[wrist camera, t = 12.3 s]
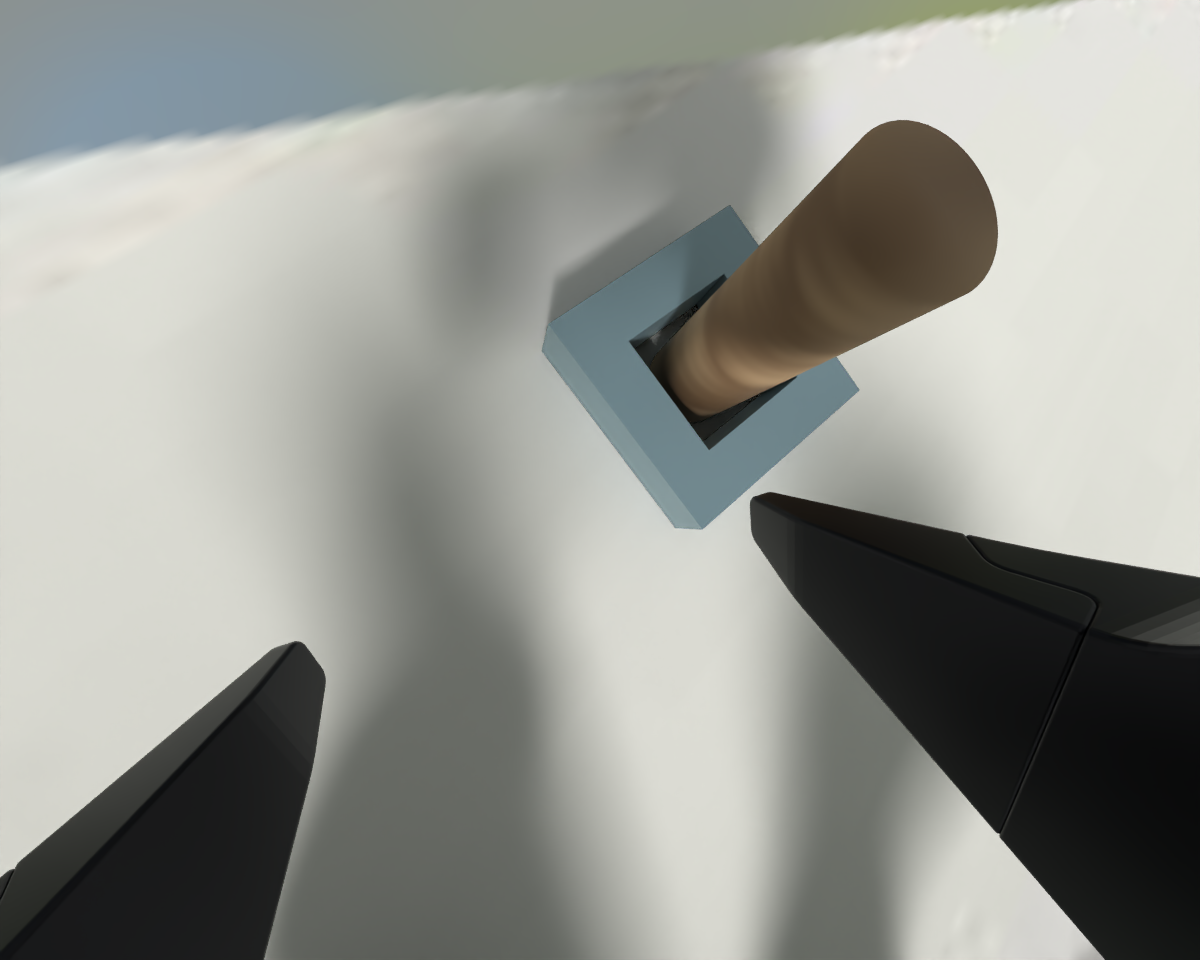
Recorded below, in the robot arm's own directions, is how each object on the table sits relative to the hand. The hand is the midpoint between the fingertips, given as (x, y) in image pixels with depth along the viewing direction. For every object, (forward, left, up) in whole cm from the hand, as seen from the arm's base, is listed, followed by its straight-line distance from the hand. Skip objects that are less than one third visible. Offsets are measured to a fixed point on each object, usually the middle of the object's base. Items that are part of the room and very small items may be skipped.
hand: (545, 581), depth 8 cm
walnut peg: (+1, -12, -12) cm, 17 cm away
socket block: (+1, -12, -12) cm, 17 cm away
